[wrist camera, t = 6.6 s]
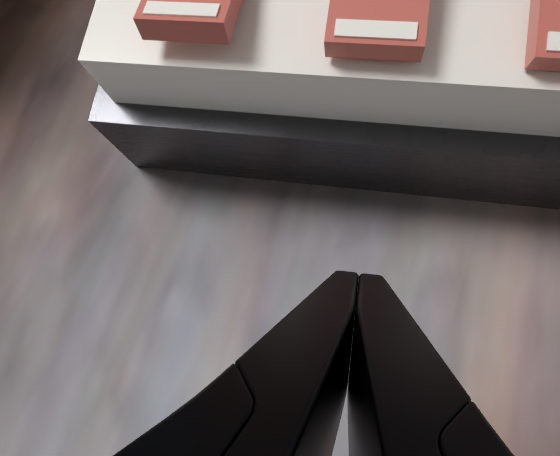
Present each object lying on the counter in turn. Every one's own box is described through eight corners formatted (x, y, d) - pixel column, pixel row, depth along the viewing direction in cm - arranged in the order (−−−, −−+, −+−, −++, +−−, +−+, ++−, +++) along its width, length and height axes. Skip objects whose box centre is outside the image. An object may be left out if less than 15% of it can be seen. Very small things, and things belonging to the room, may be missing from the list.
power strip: (658, -12, 19) (721, -86, 15) (669, 145, 17) (742, 97, 14) (150, -27, 22) (119, -89, 19) (114, 102, 20) (74, 56, 17)
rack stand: (614, 48, 23) (684, -32, 19) (620, 215, 21) (701, 173, 16) (171, 26, 27) (135, -44, 22) (136, 166, 25) (88, 120, 20)
